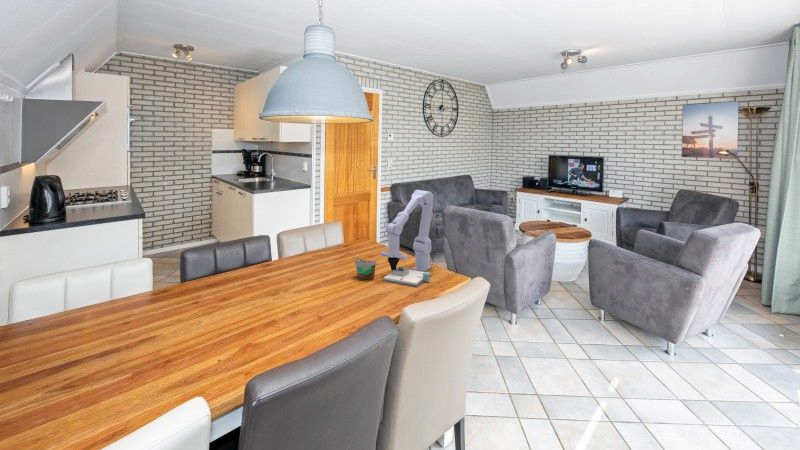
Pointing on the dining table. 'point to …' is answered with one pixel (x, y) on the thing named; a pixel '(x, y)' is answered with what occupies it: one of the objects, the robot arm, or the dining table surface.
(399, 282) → the susan base
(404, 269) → the cover
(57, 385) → the dining table surface
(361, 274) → the food container
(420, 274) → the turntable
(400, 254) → the robot arm
